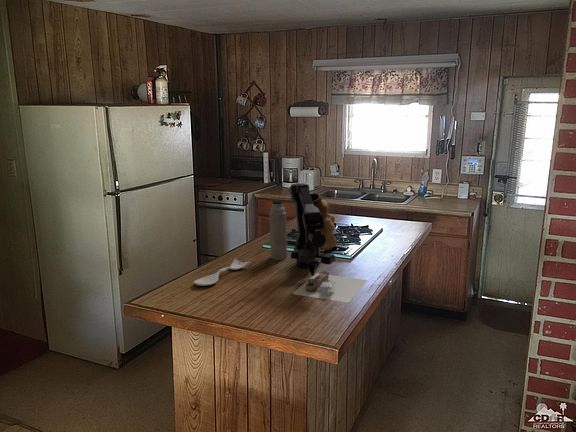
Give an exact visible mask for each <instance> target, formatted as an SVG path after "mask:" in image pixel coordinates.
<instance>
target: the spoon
mask: <svg viewBox="0 0 576 432" xmlns="http://www.w3.org/2000/svg"><path fill="white" fill-rule="evenodd" d="M250 264H251V261H247V262H246V261H245V262H243V261H241V260H239V259H237V258H235V259H234V260H233V261H232V263H231V264H230V266H226V267H224V268H220V269H219V270H218V271H216V272H215V273H213V274H210V275H206V276H203V277H200V278H198V279H196V280H193V284H195V285H197V286H202V287H203V286H205V287H207V286H212V285H214V284H216V283H217V282H218V280H219V278H220V277H219V275H220V274H221V273H222V272H223V273H224V272H226V271H227V270H234V271H237V270H241V269H243V268H245V267H247V266H249V265H250Z"/></svg>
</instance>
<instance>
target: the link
mask: <svg viewBox="0 0 576 432" xmlns="http://www.w3.org/2000/svg"><path fill="white" fill-rule="evenodd" d="M329 275H330V273H329V272H328V271H321V273H319V275H318V276H317V277H316V278H315V279H313V280H314V285H308V283H307V284H306V291H308V292H314V291H316V290H317V288H318V287H319V286H320V285H321V284H322V283H323V281H324V280H326V279H327V278H329Z"/></svg>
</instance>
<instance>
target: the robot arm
mask: <svg viewBox="0 0 576 432" xmlns="http://www.w3.org/2000/svg"><path fill="white" fill-rule="evenodd" d="M288 194H289V195H290V198H291V201H292V202H293V203H294V204H295V205H294V206H295V212H296V213H295V214H296V216H295V217H296V223H297V231H298V235H297V238H296V240H295V245H294V248H293V251H291V252H290V259H293V260H296V267H297V268H299V269H302V270H303V269H305V270H306V269H308V270H309V273H310V275H311V277H313V276H314V275H315V274H316V273H317V270H318V268H319V266H320V264H324V265H331V264H333V263H334V262H336V256H335V254H334V253H325V254H323V255H322V252H321V251H319V247H321V246H323V245H324V244H325V242H326V238H325V236H324V235H323V234H322V233H321V229H324V225H325V224H324V220H323V216H322V214H321V213H320V211H319V209H318V208H317V207H315V206H314V204H313V201H312V198H311V195H310V194H311V193H310V185H309V184H307V183H292V184H290V186H288ZM319 223H320V224H321V225H315V224H319Z"/></svg>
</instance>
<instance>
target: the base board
mask: <svg viewBox="0 0 576 432" xmlns="http://www.w3.org/2000/svg"><path fill="white" fill-rule="evenodd" d="M319 274H320V273H318V272H316V273H315V275H314V276H311V277H310V278H309V279H315V278H316V277H317V276H318V275H319ZM326 280H332V281H335V284H334V285H333V287H332V289H330V295H329V296H323V295H322V288H320V286H319V287H318V288H317V290H316V291H314V292H308V291H306V284H307V283H308V280H307V281H305V283H303V284H302V285H301V286H299V288H298V289H296V290H295V291H294V292H292V295H297V296H304V297H308V298H309V297H310V298H315V299H316V298H317V299H322V300H327V301H333V302H341V303H346V304H349V303H350V301H352V299H353V298H354V297H355V295H357V294H358V293H359V291H360V290H362V288H363V287H364V286H365V284H366V283H367V282H368V281H369V280H368V279H361V278H354V277H345V276H342V275H341V276H340V275H331V274H329V278H327V279H326Z"/></svg>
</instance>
